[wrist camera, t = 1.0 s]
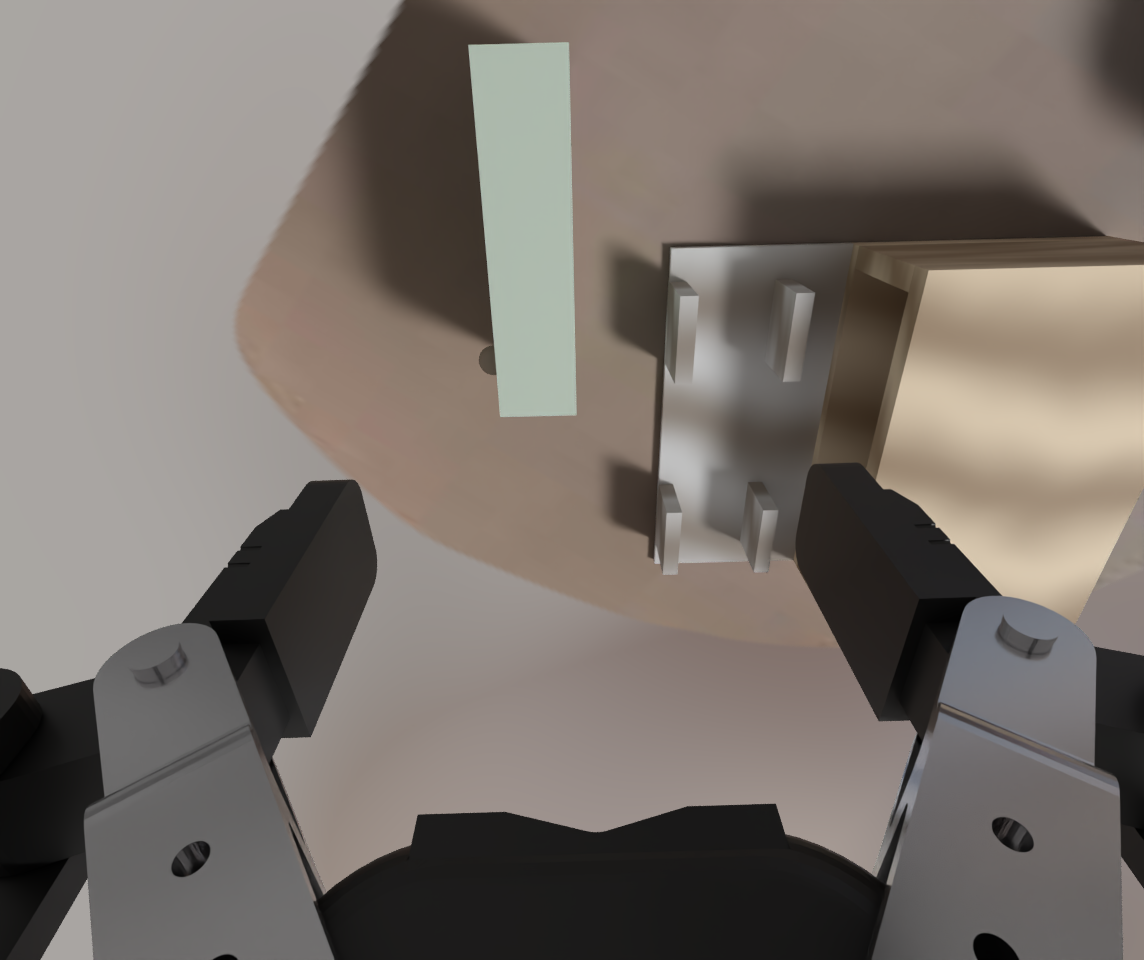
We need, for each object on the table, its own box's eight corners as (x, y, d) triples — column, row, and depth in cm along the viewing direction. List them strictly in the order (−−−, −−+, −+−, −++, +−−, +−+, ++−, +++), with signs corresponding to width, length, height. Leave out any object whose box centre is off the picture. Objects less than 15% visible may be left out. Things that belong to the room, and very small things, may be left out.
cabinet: (670, 247, 28) (699, 276, 22) (1106, 236, 28) (1256, 262, 22) (653, 559, 37) (671, 642, 31) (987, 551, 37) (1071, 631, 31)
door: (470, 72, 25) (434, 45, 18) (567, 70, 25) (568, 42, 18) (495, 355, 31) (474, 417, 24) (573, 353, 31) (576, 415, 24)
